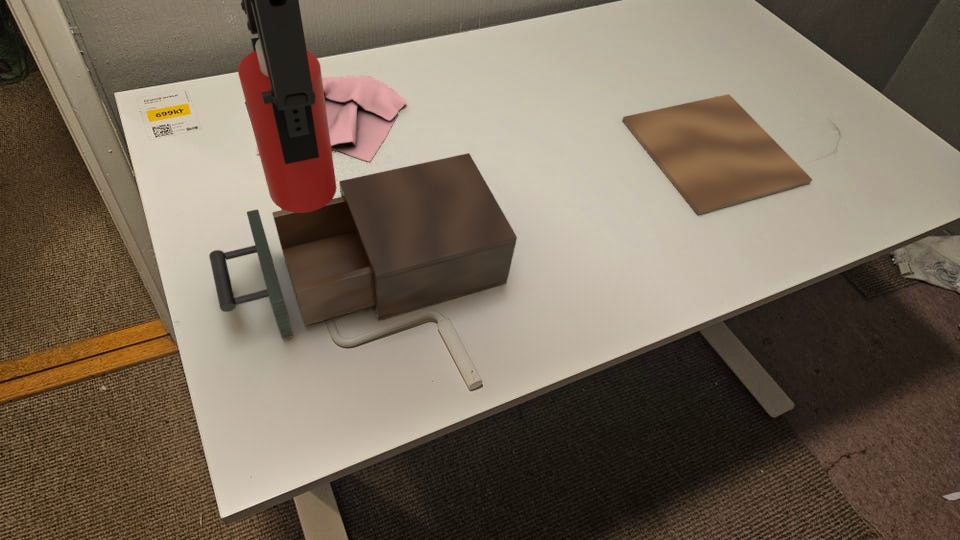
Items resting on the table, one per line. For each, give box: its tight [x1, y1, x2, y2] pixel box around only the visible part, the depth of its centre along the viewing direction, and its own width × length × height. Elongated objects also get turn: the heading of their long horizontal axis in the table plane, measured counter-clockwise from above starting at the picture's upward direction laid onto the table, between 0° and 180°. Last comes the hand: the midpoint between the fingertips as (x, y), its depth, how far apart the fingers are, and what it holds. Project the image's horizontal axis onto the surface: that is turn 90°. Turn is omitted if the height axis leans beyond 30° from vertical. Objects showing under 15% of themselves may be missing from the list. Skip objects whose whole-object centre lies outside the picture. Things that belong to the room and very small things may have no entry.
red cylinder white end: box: [237, 39, 337, 213], centre depth 50 cm, size 6×6×15 cm
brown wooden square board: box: [622, 93, 813, 216], centre depth 90 cm, size 20×20×1 cm
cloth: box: [256, 75, 408, 163], centre depth 85 cm, size 20×22×2 cm
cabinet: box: [338, 152, 518, 321], centre depth 70 cm, size 16×14×9 cm
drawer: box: [208, 196, 376, 340], centre depth 66 cm, size 19×12×7 cm, turn 113°
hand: (291, 130), depth 51 cm, fingers closed on red cylinder white end, 6 cm apart
